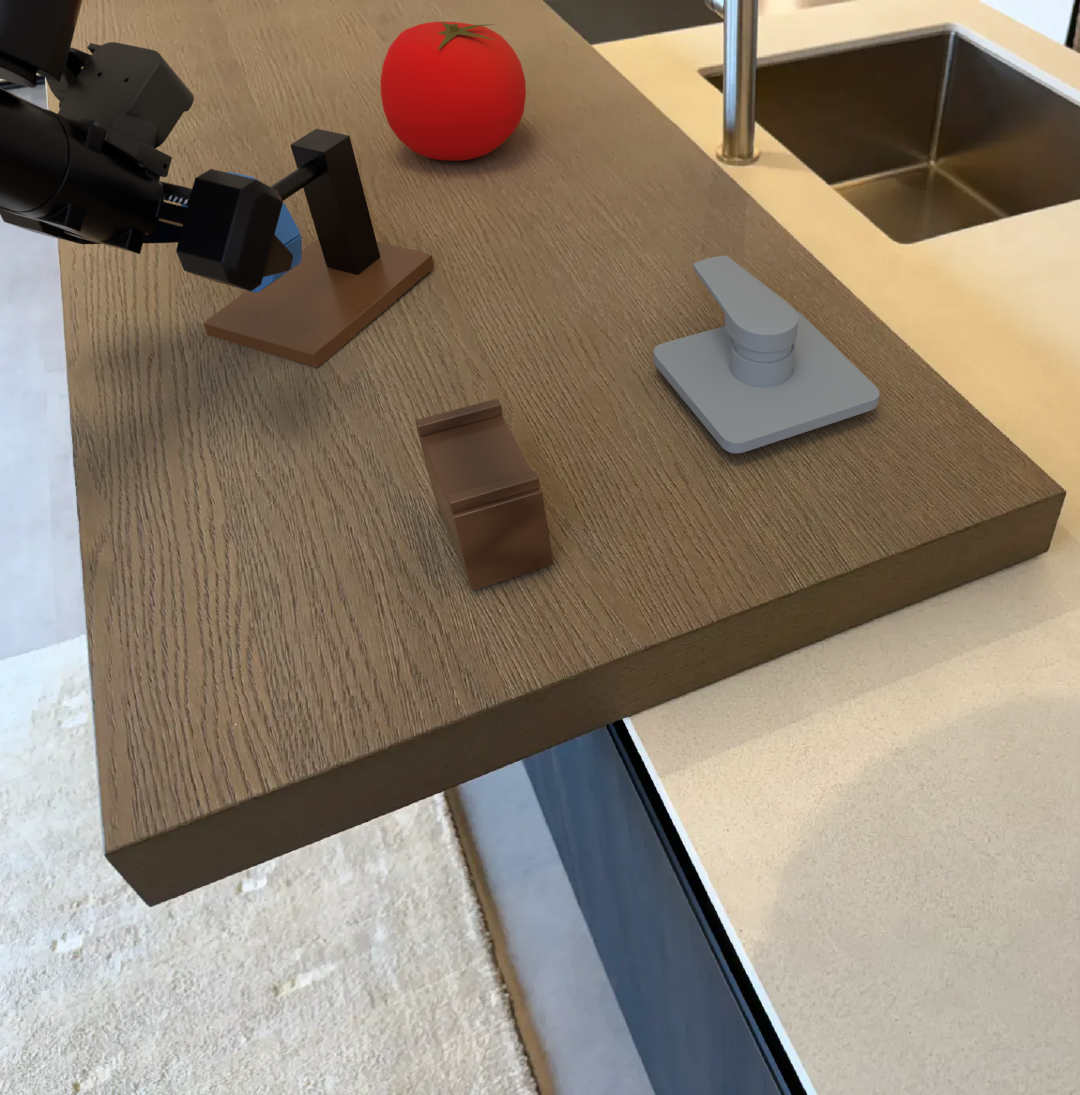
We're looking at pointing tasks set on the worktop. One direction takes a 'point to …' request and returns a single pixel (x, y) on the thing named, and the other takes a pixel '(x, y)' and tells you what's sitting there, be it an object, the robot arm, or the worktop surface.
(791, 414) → the shower valve
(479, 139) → the tomato
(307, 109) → the worktop surface
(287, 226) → the tape roll
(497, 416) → the tape cradle
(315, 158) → the hook stand
